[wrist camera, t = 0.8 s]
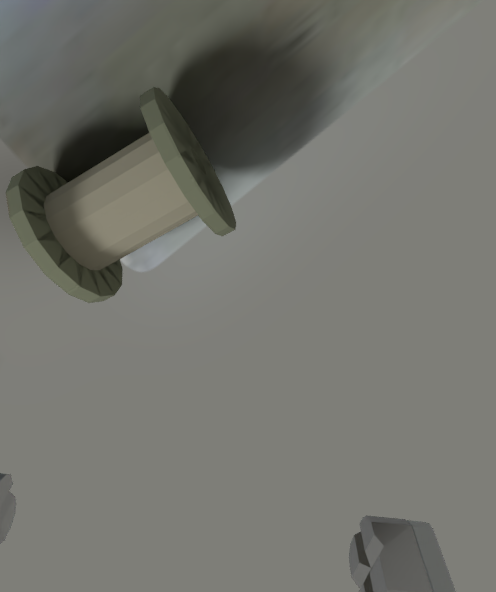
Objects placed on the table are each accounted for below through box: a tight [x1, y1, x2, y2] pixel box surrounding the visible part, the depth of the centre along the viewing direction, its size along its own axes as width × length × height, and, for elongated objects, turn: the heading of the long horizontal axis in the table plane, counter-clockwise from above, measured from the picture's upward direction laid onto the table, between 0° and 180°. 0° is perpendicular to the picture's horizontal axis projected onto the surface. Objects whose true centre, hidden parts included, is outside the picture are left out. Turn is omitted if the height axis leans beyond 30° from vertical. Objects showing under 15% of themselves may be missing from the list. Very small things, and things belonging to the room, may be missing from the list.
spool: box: [6, 87, 236, 303], centre depth 46 cm, size 16×15×15 cm
